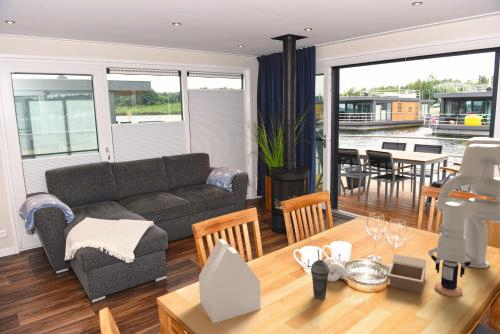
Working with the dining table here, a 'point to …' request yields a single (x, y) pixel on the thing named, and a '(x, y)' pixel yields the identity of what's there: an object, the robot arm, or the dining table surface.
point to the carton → (407, 272)
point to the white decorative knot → (336, 269)
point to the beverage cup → (319, 278)
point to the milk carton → (228, 284)
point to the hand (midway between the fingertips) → (449, 273)
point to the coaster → (451, 293)
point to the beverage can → (449, 275)
